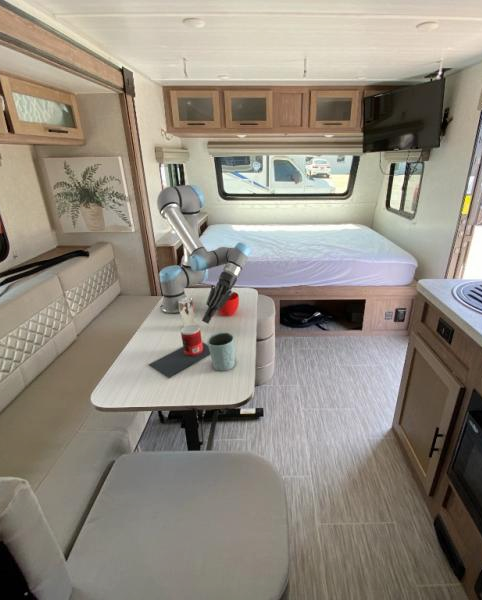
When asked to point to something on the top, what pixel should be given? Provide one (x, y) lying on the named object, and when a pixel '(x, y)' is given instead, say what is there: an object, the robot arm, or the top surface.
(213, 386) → the top surface
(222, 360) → the pale teal tumbler
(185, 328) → the canned food
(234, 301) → the ceramic cup
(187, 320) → the beer glass
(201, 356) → the mat
